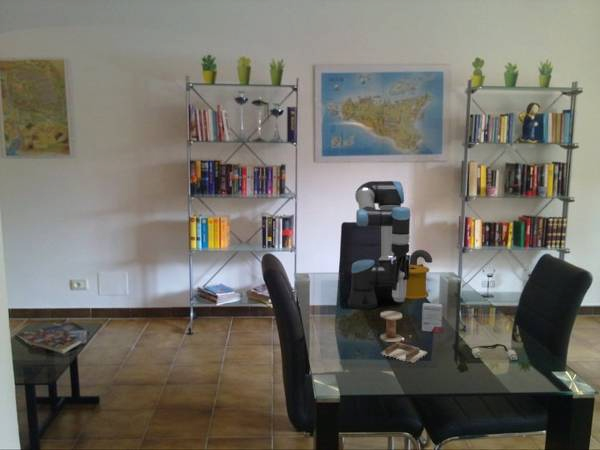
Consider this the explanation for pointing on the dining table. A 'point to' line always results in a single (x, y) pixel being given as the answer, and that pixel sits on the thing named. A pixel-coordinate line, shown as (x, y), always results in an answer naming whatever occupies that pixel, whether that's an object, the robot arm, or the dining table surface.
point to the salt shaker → (401, 288)
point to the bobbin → (391, 326)
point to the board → (404, 352)
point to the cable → (510, 353)
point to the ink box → (432, 317)
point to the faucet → (418, 254)
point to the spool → (416, 282)
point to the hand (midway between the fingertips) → (399, 295)
